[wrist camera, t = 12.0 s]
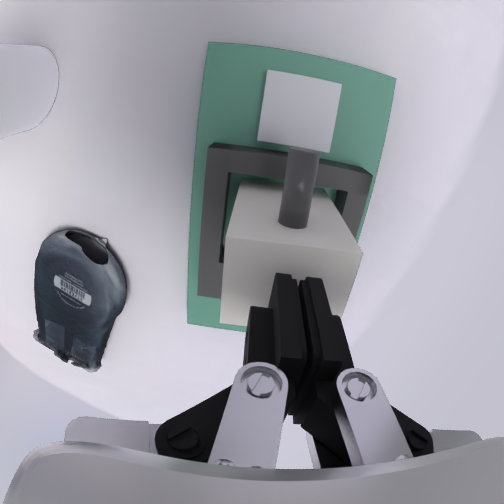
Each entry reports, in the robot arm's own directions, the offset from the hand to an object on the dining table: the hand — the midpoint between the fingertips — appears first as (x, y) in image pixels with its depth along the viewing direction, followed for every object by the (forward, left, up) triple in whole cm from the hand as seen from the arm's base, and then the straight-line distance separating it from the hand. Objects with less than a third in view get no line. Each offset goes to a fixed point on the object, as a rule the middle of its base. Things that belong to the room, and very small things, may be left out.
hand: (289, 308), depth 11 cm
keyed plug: (0, 0, -9) cm, 9 cm away
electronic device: (+11, -17, -11) cm, 23 cm away
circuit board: (0, 0, -10) cm, 10 cm away
